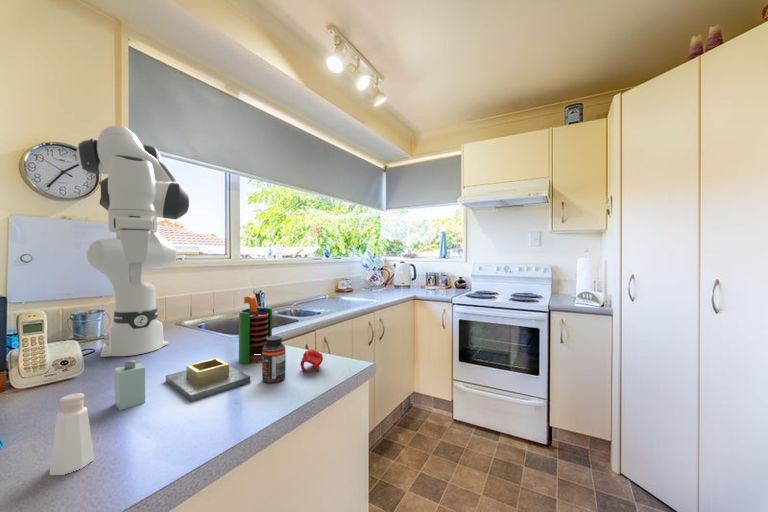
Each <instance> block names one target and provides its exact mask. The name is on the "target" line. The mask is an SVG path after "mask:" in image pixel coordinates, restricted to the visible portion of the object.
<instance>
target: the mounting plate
mask: <svg viewBox="0 0 768 512" xmlns="http://www.w3.org/2000/svg"><path fill="white" fill-rule="evenodd" d="M185 367H186V369H185V370H182V371H178V372H174V373H170V374H168V375H167V374H166V375H165V383H167V384H168V385H170V386H171V387H172V388H173V389H174V390H176V391H177V392H178V393H180V395H182V396H184V398H186V399H187V400H188V401H190V403H191V402H194V401H197V400H201V399H204V398H207V397H210V396H213V395H216V394H219V393H222V392H225V391H228V390H230V389H234V388H237V386H238V387H241V386H242V385H243V386H244V385H246V384H249V383H251V376H250V375H248V374H246V373H244V372H242V371H240V370H238V369H236V368H234V367H232V366H231V365H230V364H229V363H228V362H226V361H224V360H222V359H220V358H218V357H215V358H210V359H208V360H207V359H206V360H203V361H200V362H195V363H190V364H187V365H186V366H185Z"/></svg>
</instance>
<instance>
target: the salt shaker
mask: <svg viewBox="0 0 768 512" xmlns="http://www.w3.org/2000/svg"><path fill="white" fill-rule="evenodd" d="M84 398H85V394H84V393H80V392H77V393H71V394H67V395H65V396H63V397H61V398H60V399H59V401H58V402H59V406H60V407H59V408H60V412H59V413H57V414H56V419H55V423H54V425H55V426H54V432H53V441H52V448H51V456H50V458H51V459H50V465H49V475H50V476H65V474H66V475H68V473H69V474H71V473H73V471H74V472H76V470H77V471H80V470H82V469H84V468H85V467H87V466H88V465H89V464H90V462H91V463H92V462H93V461H94V460H95V452H94V446H93V439H92V433H91V432H92V431H91V426H90V424H91V423H90V418H89V414H88V413H89V411H88V407H86V406H84V403H85V402H84V401H85V399H84ZM83 467H84V468H83ZM79 469H80V470H79Z"/></svg>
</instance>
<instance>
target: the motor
mask: <svg viewBox="0 0 768 512" xmlns="http://www.w3.org/2000/svg"><path fill="white" fill-rule="evenodd" d="M256 299H257V298H256V297H255V296H253V295H250V296H244V297H243V300H244V301H243V303H244V304H248V305H249V307H248V308H244V309H240V310H239V312H238V313H239V314H238V319H239V320H238V362H239V363H241V364H243V365H249V364H250V363H249V362H256V363H259V362H258V361H262V349H263V347H264V346H265V345H266V338H267V337H270V336H273V308H271V307H258V306H257V304H258V303H257V300H256ZM254 354H261V355H254Z"/></svg>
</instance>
